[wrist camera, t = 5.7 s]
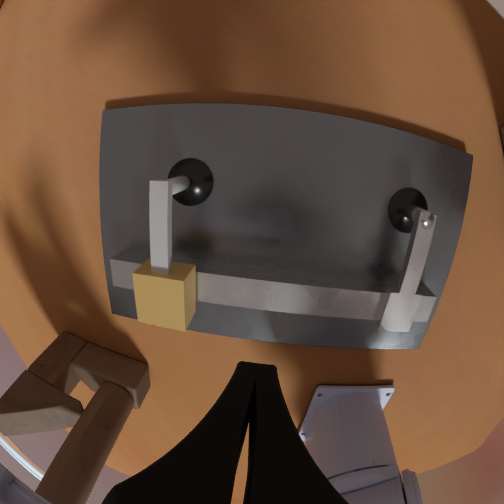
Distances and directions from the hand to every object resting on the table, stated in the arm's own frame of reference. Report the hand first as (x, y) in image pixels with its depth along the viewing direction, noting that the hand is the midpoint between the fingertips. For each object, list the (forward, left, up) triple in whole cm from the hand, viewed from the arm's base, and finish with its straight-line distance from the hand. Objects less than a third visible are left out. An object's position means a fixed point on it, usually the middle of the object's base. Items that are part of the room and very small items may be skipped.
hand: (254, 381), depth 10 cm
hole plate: (+3, -1, -10) cm, 10 cm away
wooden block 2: (-12, +15, -10) cm, 22 cm away
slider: (+2, +6, -9) cm, 11 cm away
